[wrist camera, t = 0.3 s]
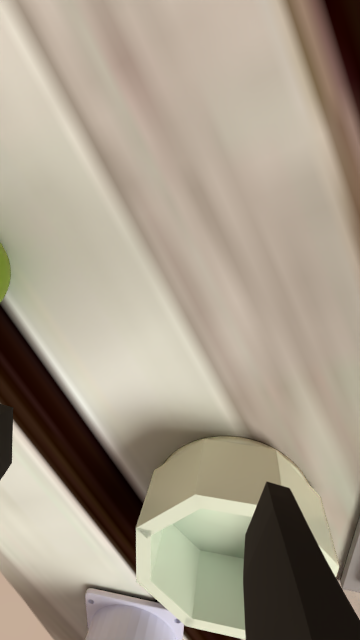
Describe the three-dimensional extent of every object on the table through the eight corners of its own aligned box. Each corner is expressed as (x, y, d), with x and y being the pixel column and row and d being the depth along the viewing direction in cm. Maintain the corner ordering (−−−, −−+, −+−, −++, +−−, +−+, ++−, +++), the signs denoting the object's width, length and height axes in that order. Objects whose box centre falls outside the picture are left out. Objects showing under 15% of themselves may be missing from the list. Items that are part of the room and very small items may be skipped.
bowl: (299, 569, 23) (313, 655, 18) (154, 541, 24) (136, 615, 20) (327, 449, 19) (353, 520, 15) (156, 425, 21) (135, 484, 16)
